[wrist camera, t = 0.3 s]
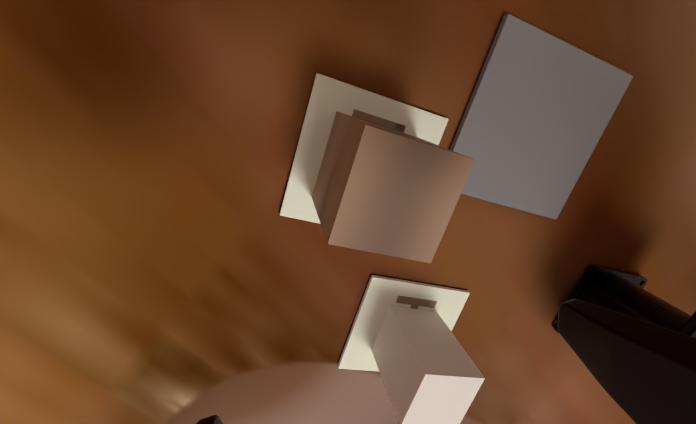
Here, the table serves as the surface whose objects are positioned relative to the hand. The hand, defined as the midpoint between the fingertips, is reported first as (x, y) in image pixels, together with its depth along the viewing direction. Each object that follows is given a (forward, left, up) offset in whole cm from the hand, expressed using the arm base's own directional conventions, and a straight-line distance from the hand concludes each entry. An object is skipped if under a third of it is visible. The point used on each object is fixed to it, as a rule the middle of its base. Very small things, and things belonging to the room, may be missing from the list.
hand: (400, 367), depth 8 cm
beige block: (-9, +8, -12) cm, 17 cm away
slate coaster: (-12, -8, -13) cm, 19 cm away
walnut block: (-2, -3, -12) cm, 13 cm away
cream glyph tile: (-2, -3, -13) cm, 13 cm away
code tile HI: (-9, +8, -13) cm, 17 cm away
